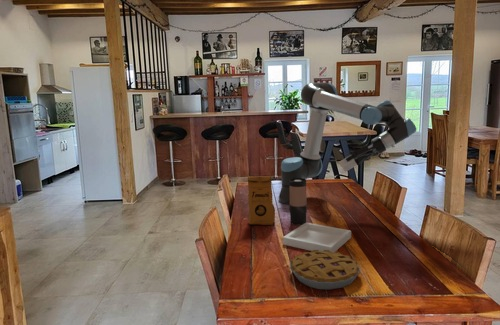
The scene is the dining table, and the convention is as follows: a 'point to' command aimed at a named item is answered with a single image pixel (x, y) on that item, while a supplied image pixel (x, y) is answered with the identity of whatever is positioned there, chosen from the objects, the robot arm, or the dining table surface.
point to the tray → (317, 237)
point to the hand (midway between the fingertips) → (342, 167)
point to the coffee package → (260, 201)
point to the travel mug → (298, 201)
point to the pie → (324, 269)
